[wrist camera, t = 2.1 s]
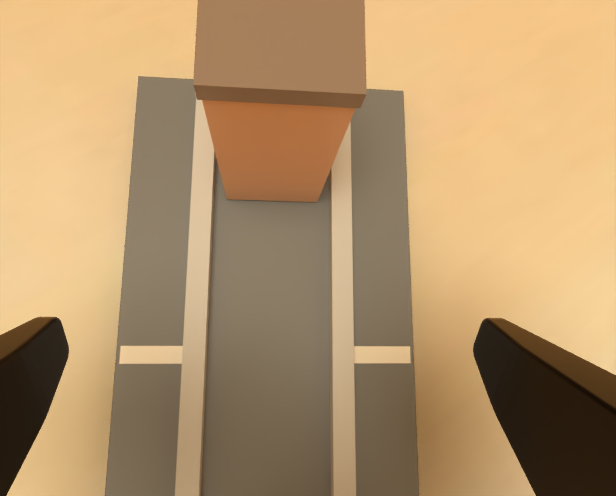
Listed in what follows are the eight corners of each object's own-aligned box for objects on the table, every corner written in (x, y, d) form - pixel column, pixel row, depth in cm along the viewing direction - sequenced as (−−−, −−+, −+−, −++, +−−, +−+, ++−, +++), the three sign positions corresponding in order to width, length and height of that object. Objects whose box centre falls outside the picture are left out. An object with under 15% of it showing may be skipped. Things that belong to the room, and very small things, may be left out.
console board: (415, 573, 22) (432, 599, 20) (104, 587, 20) (85, 617, 18) (398, 100, 26) (410, 79, 24) (143, 86, 25) (132, 62, 23)
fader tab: (319, 204, 23) (366, 94, 13) (224, 201, 23) (193, 84, 12) (319, 144, 24) (364, -8, 13) (227, 140, 24) (199, -20, 13)
